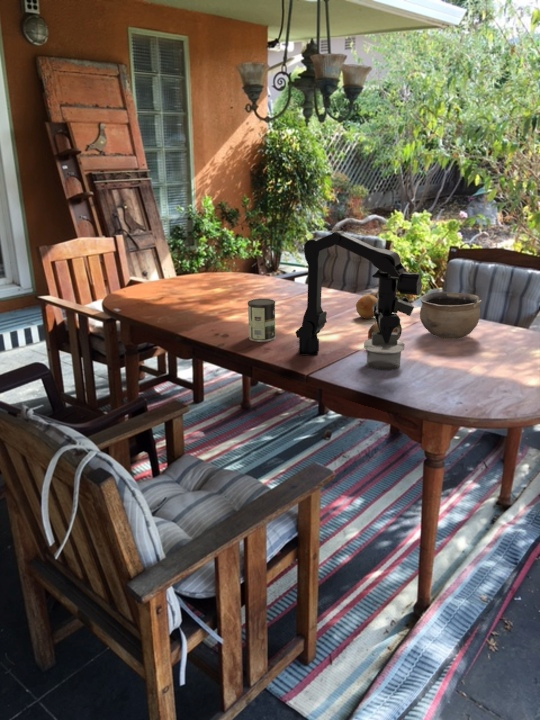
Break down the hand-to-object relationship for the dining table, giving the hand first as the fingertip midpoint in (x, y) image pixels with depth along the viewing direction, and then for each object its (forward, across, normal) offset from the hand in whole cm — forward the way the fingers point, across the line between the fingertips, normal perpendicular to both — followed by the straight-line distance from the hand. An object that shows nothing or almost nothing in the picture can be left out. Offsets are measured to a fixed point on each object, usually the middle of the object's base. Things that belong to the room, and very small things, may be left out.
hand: (384, 339), depth 197 cm
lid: (+3, 0, 0) cm, 3 cm away
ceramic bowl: (+9, +32, -29) cm, 43 cm away
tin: (+9, +22, -4) cm, 25 cm away
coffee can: (+9, +30, +41) cm, 52 cm away
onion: (+9, +58, -2) cm, 58 cm away
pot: (+9, +2, 0) cm, 9 cm away
